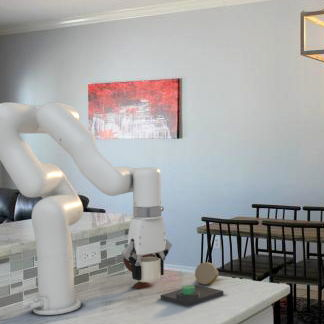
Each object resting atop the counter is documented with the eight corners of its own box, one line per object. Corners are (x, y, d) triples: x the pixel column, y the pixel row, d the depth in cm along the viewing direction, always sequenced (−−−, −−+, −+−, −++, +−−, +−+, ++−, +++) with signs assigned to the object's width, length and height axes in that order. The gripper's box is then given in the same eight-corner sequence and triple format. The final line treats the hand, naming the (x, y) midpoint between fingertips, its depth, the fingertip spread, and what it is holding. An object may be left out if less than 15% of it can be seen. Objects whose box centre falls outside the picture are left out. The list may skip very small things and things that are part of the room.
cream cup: (145, 283, 145) (145, 263, 144) (130, 279, 149) (130, 259, 149) (165, 279, 150) (165, 259, 149) (150, 275, 154) (150, 255, 154)
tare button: (187, 296, 151) (187, 289, 151) (179, 294, 153) (179, 287, 153) (197, 293, 154) (197, 286, 154) (188, 291, 156) (188, 284, 156)
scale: (187, 308, 149) (187, 297, 149) (158, 300, 158) (158, 290, 157) (225, 295, 160) (225, 285, 160) (196, 289, 168) (195, 279, 168)
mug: (224, 278, 181) (224, 256, 176) (212, 298, 173) (212, 275, 168) (203, 272, 183) (203, 249, 178) (190, 291, 176) (190, 268, 170)
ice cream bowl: (152, 291, 168) (150, 243, 167) (118, 290, 170) (116, 243, 169) (164, 282, 178) (162, 237, 178) (132, 282, 180) (130, 237, 180)
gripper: (163, 208, 158) (164, 269, 158) (112, 214, 145) (113, 280, 145) (180, 210, 153) (181, 273, 153) (129, 216, 140) (130, 285, 140)
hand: (148, 276), depth 149 cm, fingers closed on cream cup, 6 cm apart
